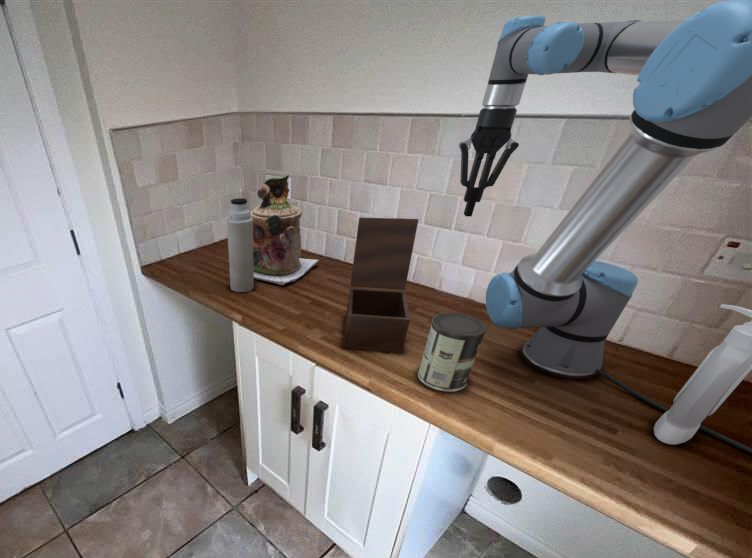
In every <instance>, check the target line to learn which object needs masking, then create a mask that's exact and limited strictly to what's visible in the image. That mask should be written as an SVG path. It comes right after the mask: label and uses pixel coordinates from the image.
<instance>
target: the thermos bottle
mask: <svg viewBox="0 0 752 558" xmlns="http://www.w3.org/2000/svg"><path fill="white" fill-rule="evenodd" d="M230 204H231V206H230V207H231V209H230V210H229V211H228V218H227V219H226V227H227V228H226V229H227V247H228V249H227V250H228V263H229V285H230V286H229V287H230V290H231V291H233V292H235V293H246V292H247V293H248V292H250V291H252V290H254V287H255V278H254V268H253V219H252V218H251V217H250V215H251V213H250V212H251V210H250V209H249V208H248V199H247V198H242V197H239V198H233V199H231V200H230Z"/></svg>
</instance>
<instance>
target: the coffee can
mask: <svg viewBox="0 0 752 558" xmlns="http://www.w3.org/2000/svg"><path fill="white" fill-rule="evenodd" d="M487 330H488V327H487V325H486V323H485V322H484V321H482V320H481V319H479V318H477V317H474V316H471V315H468V314H464V313H457V312H443V313H438V314H436V315H435V316H433V317H432V319H431V326H430V329H429V332H428V337H427V340H426V343H425V348H424V352H423V355H422V359H421V361H420V366H419V369H418V372H417V377H418V380H419V381H420V382H421V383H422V384H423V385H425V386H426V387H429V388H430V389H432V390H436V391H440V392H447V393H452V392H454V393H455V392H459V391H462V390H463V389H464V388H466V386H467V383H468V380H469V377H470V374H471V371H472V368H473V366H474V363H475V360H476V358H477V355H478V352H479V349H480V347H481V344H482V341H483V339H484V336H485V334H486V333H487Z"/></svg>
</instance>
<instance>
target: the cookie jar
mask: <svg viewBox="0 0 752 558" xmlns="http://www.w3.org/2000/svg"><path fill="white" fill-rule="evenodd" d="M289 177H290V175H289V174H286V175H284V176H282V177H270V178H268V179H265V181H264V182H263V184H262V185H261V186H260V187H258V189H257V197H258V198H259V199H260V200H262V202H260V203H261V204H260V205H257V206H256V207H254V209H253V210H250V213H251V215H250V217H251V218H252V219H253V268H254V280H259V281H264V282H268V283H273V284H276V285H280V286H284V285H285V284H289V283H293V282H294V283H295V282H296V281H297V280H298V279H300V278H301V277H302V276H304V275H306V274H307V272H309V271H310V270H311V269H312V268H313V267H315V266H317V264H318V262H319V259H315V258H314V259H311V258H303V257H302V258H301V256H302V236H301V224H300V219H301V217H302V214H303V210H302V209H301V208H300V207H297V206H295V205H291V204H290V203H289V201H287V199H288V196H289V193H290V188H289V182H288V179H289Z"/></svg>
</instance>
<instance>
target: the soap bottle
mask: <svg viewBox="0 0 752 558" xmlns="http://www.w3.org/2000/svg"><path fill="white" fill-rule="evenodd" d="M719 308H720V309H727V310H731V311H735V312H738V313H740V314H742V315H744V316H747V317H749V318H751V319H752V309H748V308H745V307H742V306H738V305H732V304H725V303H721V304H720V306H719ZM751 371H752V320H750V321H748V322H744V323H742V324H738V325H734V326H733V327H732V328H731V330H730V331H729V332H728V334H727V335H726V336H725V337H724V339H723V341H722V342H721V343H720V344H719V345H717V346H715V347H714V348H713V349H711V350H710V351H709V353H707V355H706V356H705V358H704V359H703V360H702V361H701V363H700V364H699V365H698V366H697V368H696V370H695V371H694V372H693V373H692V375H691V376H690V377H689V378H688V380H687V381H686V382H685V384H684V385H683V386H682V388H681V389H680V390H679V391H678V392H677V394H676V396H675V397H674V398H673V402H672V403H673V404H672V405H671V407H670V408H669V411H667V412H664V413H663V414H662V415H661V416H660V417H659V418H658V419H657V421H655V423H654V426H653V434H654V436H655V437H656V439H657V440H658V441H660V442H662V443H664V444H667V445H680V444H683V443H686V442H688V441H690V440H691V439H692V438H693V437H694V436H695V434H696V433H697V432H698V430H699V427H700V425H702V422H703V421H704V420H705V419H706V418H707V416H708V417H710V416H711V415H713V414H714V413H715V412H717V410H718V409H719V408H720V406H721V405H722V404H723V403H725V401H726V400H727V399H728V397H729V396H730V395H731V394H732V393H733V391H734V390H735V389H736V388H737V387H738V386H739V385H740V384H741V383H742V381H743V380H744V379H745V378H746V377H747V376H748V374H749V373H750V372H751Z"/></svg>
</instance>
